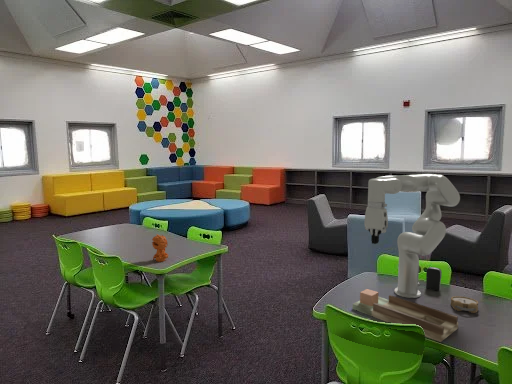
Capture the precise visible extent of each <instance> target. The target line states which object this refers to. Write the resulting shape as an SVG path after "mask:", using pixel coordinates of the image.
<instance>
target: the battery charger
mask: <svg viewBox="0 0 512 384" xmlns="http://www.w3.org/2000/svg"><path fill="white" fill-rule="evenodd" d="M442 276H443V275H442V269H441V268H438V267H434V266H429V267H428V268H426V277H425V280H426V281H425V282H426V283H425V288H426V289H429V290H432V291H433V290H434V291H438V292H439V291H441V282H442V281H441V280H442Z"/></svg>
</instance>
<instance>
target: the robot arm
mask: <svg viewBox="0 0 512 384" xmlns="http://www.w3.org/2000/svg"><path fill="white" fill-rule="evenodd" d="M367 186H368V188H367V189H368V190H367V206H366V210H365V212H364V213H365V214H364V221H363V222H364V229H365V230H366V231H368V232H369V234H370V235H371V240H370V241H371V244H373V245H376V244H379V241H380V235H382V234H385V233H387V229H388V228H389V221H388V220H389V219H388V211H387V208H386V207H388V204H387V203H386V200H385V199H386V195H387V194H388V195H395V194H399V193H400V192H403V193H418V192H419V193H420V192H426V193H425V209H424V211H423V212H422V214H421V215H420V216H418V218H417V219H416V221H414V223H413V224H412V226H411V229H412V230H411V231H412V232H409V231H403V232H401V233H400V234H399V235H398V237H397V240H396V241H397V242H396V243H397V249H398V270H397V271H398V272H397V275H398V277H397V287H395V288H394V293H395V295H397V296H399V297H402V298H407V299H416V298H420V297H421V296H422V293H421V291H420V290H419V287H420V286H421V283H420V282H419V275H420V273H419V272H420V271H419V269H420V259H419V256H422V257H427V256H429V255H430V254H431V253H433V252H434V250H435V249H436V248H437V246H439V244H440V243H441V242H442V240H443V239H444V238H445V236H446V234H447V233H446V232H447V229H446V228H447V227H446V225H445V224H444V222H442V221H440V220H441V218H442V210H441V206H444V207H456V206H457V205H458V204H459V203H460V201H461V195H460V193H459V191H458V189H457V188H456V187H455V185H453V183H452V182H451V180H449V178H448V177H446V176H444V175H443V174H434V173H422V174H421V173H420V174H406V175H405V174H403V175H385V176H383V175H382V176H378V177H376V178H370V179H369V180H368V184H367Z"/></svg>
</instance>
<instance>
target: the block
mask: <svg viewBox="0 0 512 384" xmlns="http://www.w3.org/2000/svg"><path fill="white" fill-rule="evenodd" d="M378 297H379V292H378V291H376V290H372V289H368V288H365V289H364V290H362V291H360V292H359V301H360V303H363V304H366V305H369V306H373V304H374V303H376V304H377V303H378Z"/></svg>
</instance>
